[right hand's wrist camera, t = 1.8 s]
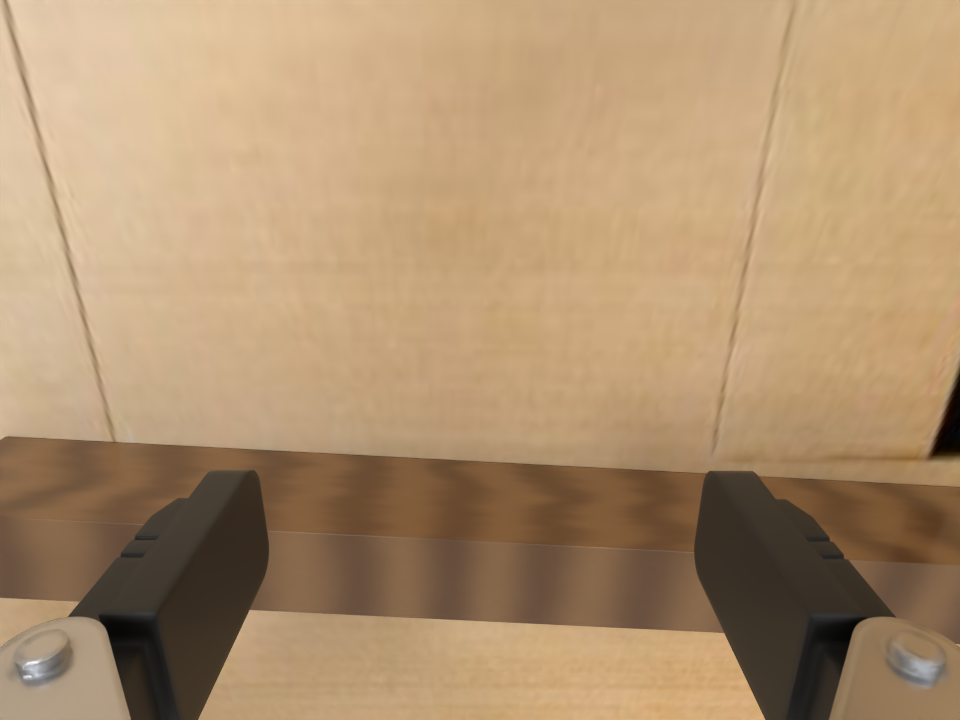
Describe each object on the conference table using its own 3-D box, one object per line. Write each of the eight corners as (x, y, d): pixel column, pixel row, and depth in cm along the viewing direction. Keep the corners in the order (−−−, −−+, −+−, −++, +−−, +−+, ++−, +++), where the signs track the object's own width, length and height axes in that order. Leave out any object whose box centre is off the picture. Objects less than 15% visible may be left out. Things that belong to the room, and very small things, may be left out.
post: (1074, 492, 38) (1208, 578, 31) (1043, 559, 40) (1163, 654, 33) (5, 436, 37) (-107, 511, 30) (22, 507, 39) (-80, 594, 32)
